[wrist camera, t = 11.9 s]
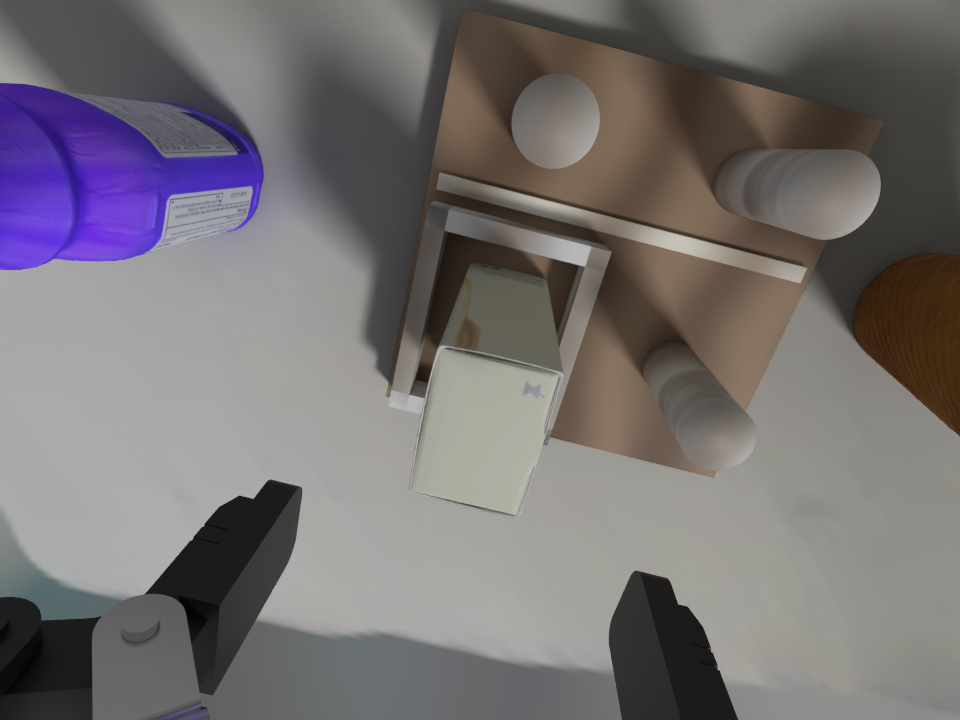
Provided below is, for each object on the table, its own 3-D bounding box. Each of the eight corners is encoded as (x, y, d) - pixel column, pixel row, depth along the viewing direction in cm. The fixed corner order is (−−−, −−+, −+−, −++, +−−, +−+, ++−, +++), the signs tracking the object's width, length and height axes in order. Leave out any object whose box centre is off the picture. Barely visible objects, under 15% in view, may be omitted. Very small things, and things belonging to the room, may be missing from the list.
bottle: (134, 193, 30) (-318, 248, 14) (148, 86, 28) (-364, 2, 12) (261, 242, 30) (-31, 350, 14) (283, 140, 28) (-28, 131, 12)
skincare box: (469, 258, 28) (436, 332, 17) (550, 277, 29) (570, 364, 17) (445, 368, 31) (402, 497, 20) (519, 385, 31) (520, 524, 20)
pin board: (866, 122, 26) (1042, 108, 17) (705, 464, 34) (771, 576, 25) (465, 14, 26) (437, -54, 17) (391, 385, 33) (345, 472, 24)
